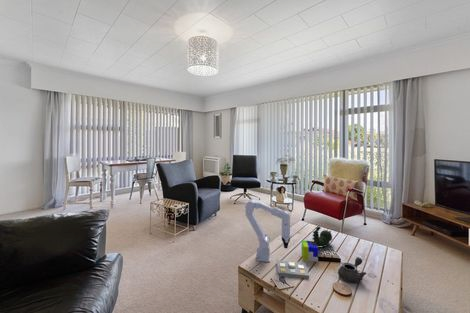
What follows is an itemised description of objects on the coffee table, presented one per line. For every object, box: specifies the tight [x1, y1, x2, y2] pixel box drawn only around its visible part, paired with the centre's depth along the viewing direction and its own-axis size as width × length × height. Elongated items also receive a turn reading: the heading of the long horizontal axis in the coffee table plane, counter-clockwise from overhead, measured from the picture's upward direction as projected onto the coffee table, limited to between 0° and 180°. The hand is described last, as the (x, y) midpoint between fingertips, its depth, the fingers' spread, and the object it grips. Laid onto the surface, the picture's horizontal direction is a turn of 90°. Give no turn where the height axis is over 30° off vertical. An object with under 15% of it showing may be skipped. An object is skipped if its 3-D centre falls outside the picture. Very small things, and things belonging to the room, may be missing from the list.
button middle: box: [289, 261, 295, 268], centre depth 138 cm, size 4×4×2 cm
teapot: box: [337, 256, 367, 284], centre depth 131 cm, size 19×15×10 cm
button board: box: [276, 259, 310, 279], centre depth 137 cm, size 19×14×2 cm
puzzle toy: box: [301, 239, 319, 262], centre depth 153 cm, size 10×10×10 cm
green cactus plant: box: [312, 225, 333, 247], centre depth 171 cm, size 9×19×25 cm
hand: (285, 247), depth 145 cm, fingers closed
